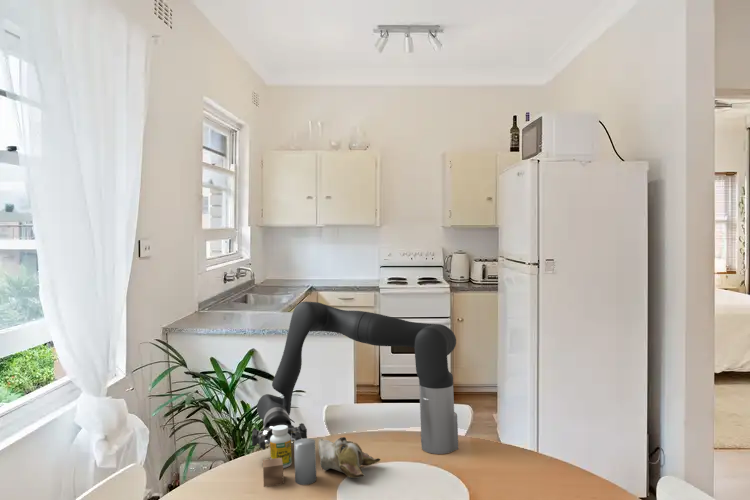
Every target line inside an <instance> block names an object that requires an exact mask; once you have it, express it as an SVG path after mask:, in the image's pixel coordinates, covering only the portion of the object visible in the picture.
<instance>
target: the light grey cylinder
mask: <svg viewBox="0 0 750 500" xmlns="http://www.w3.org/2000/svg"><path fill="white" fill-rule="evenodd" d="M293 446H294V447H293V451H294V457H293V458H294V481H295V484H297V485H300V486H301V485H302V486H307V485H311V484H313V483H315V482H316V481H317V460H316V459H317V455H316V452H317V450H316V440H315V439H314V438H309V437H307V438H303V439H299V440H296V441H295V440H294V442H293Z"/></svg>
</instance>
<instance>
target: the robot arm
mask: <svg viewBox="0 0 750 500" xmlns="http://www.w3.org/2000/svg"><path fill="white" fill-rule="evenodd" d="M310 332H327V333H329V332H330V333H335V334H336V333H337V334H340V335H343V336H345V337H347V338H349V339H351V340H352V341H355V342H357V343H362V344H366V345H372V346H376V347H408V348H414V360H415V371H416V376H417V378H418V382H419V383H418V384H419V411H420V412H419V414H420V418H419V419H420V437H421V438H420V441H421V442H420V443H421V444H420V445H421V450H423V451H424V452H427V453H428V454H435V455H443V454H449V453H452V452H454V451H455V450H459V431H458V429H459V427H458V426H459V425H458V414H457V412H455V402H454V401H455V400H454V399H455V398H454V375H453V373H452V372H450V371H449V363H448V355H450V354H451V353H452V352H453V351H454V350H455V348H456V345H457V337H456V334H455V333H454V331H453V330H452V329H451V328H449V326H446V325H444V324H441V323H425V322H414V321H410V320H409V321H408V320H405V319H401V318H397V317H393V316H388V315H384V314H380V313H376V312H369V311H365V310H364V311H363V310H362V311H361V310H347V309H346V310H345V309H340V308H337V307H334V306H330V305H328V304H326V303H325V304H324V303H321V302H316V301H301V302H298V304H297V305H296V306H295V307H294V309H293V311H292V314H291V319H290V323H289V328H288V332H287V335H286V340H285V343H284V344H285V345H284V349H283V352H282V355H281V360H280V362H279V365H278V367H277V369H276V372H275V375H274V377H273V379H272V382H271V386H272V389H274V390H275V391H276V392H277V393H279V394H280V395H282V396H283V397H280V396H277V395H273V394H269V393H267V394H264V395H261V396H260V398H259V400H258V401H257V404H256V412H257V415H258V417H259V418H260V419H261V420H262V421H263V429H262V430H259V429H258V428H253V429H252V432H251V433H252V434H251V446H257V445H259V446H258V447H259V449H262V451H263V450H266V445H270V438H271V436H272V435H273V433H272V428H273V427H274V426H277V425H286V426H288V434H289V435H290V436H291V442H293V441H294V442H295V441H296V440H299V439H303V438H308V436H307V435H308V429H307V427H306V426H305V424H304V423H302V422H301V423H299V424H298V426H294V425H292V421H291V417H290V414H291V410H292V409H291V408H292V397H293V393H294V389H295V387H296V383H297V381H298V379H299V376H300V373H301V370H302V364H303V361H302V359H303V357H302V353H303V347H304V342H305V340H306V338H307V336H308V335H309V333H310Z"/></svg>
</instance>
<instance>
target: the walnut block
mask: <svg viewBox="0 0 750 500" xmlns="http://www.w3.org/2000/svg"><path fill="white" fill-rule="evenodd" d="M262 479H263V487H264V488H265V487H270V486H277V485H278V486H279V485H283V484H284V468H283V462H282V458H275V459H271V458H269V459H262Z"/></svg>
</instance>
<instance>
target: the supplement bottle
mask: <svg viewBox="0 0 750 500" xmlns="http://www.w3.org/2000/svg"><path fill="white" fill-rule="evenodd" d="M272 433H273V435H272V436H271V438H270V443H269V449H270V451H269V453H270V459H275V458H282V462H283V469H286V468H288V467H290V466H291V465H292V463H293V460H292V459H293V456H292V454H293V453H292V441H291V436H290V435H289V434H288V426H286V425H277V426H274V427H273V428H272Z"/></svg>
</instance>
